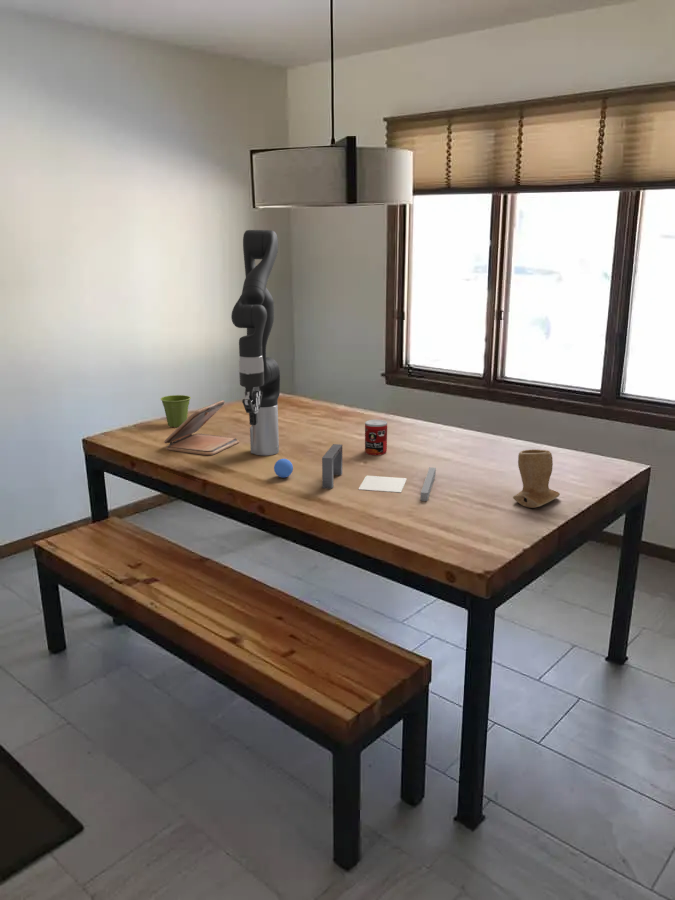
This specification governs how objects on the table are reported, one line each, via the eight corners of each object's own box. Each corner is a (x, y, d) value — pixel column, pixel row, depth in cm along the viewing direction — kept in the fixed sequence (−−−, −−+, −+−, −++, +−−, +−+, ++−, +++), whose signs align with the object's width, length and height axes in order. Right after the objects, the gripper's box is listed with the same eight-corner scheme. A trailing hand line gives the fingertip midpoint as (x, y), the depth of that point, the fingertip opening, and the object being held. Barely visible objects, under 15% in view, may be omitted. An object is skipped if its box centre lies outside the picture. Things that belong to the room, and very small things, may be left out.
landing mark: (358, 489, 229) (358, 488, 229) (366, 476, 242) (366, 475, 242) (401, 492, 227) (401, 492, 227) (406, 478, 239) (406, 478, 239)
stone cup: (528, 489, 229) (531, 441, 225) (564, 498, 221) (568, 449, 217) (501, 502, 219) (504, 452, 214) (538, 512, 211) (542, 461, 207)
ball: (271, 479, 239) (271, 461, 237) (277, 473, 244) (276, 455, 243) (290, 480, 237) (289, 462, 236) (295, 474, 243) (295, 456, 241)
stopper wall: (420, 500, 220) (420, 492, 220) (429, 474, 243) (429, 467, 242) (427, 501, 220) (427, 492, 219) (435, 475, 242) (435, 467, 242)
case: (195, 436, 289) (192, 395, 284) (242, 442, 280) (240, 400, 275) (161, 450, 271) (158, 407, 266) (211, 458, 262) (208, 413, 258)
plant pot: (198, 424, 304) (197, 397, 300) (174, 430, 295) (172, 402, 292) (180, 420, 311) (178, 393, 308) (156, 425, 302) (154, 398, 299)
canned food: (361, 454, 265) (361, 423, 261) (369, 448, 272) (369, 418, 268) (382, 456, 262) (383, 425, 259) (389, 450, 269) (390, 420, 266)
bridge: (322, 488, 231) (322, 457, 228) (333, 472, 245) (333, 444, 242) (331, 488, 230) (331, 458, 227) (342, 473, 244) (342, 444, 241)
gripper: (247, 365, 240) (249, 418, 245) (232, 373, 228) (235, 429, 233) (269, 366, 239) (271, 420, 244) (256, 374, 226) (258, 430, 231)
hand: (253, 424), depth 238 cm, fingers closed
